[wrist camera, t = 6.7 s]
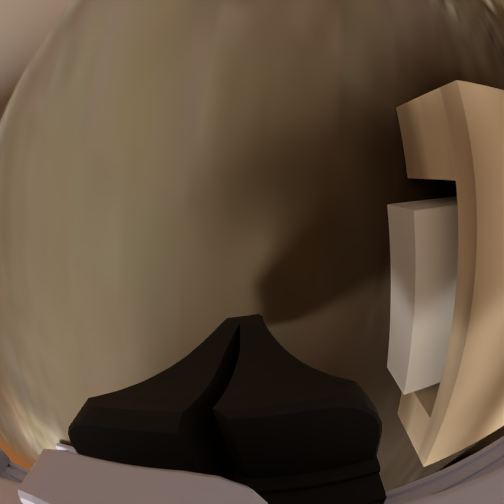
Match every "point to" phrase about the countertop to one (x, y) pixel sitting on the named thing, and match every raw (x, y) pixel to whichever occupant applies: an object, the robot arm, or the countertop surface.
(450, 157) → the tan rectangular block
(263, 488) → the robot arm
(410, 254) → the white block
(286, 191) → the countertop surface
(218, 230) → the countertop surface
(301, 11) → the countertop surface
